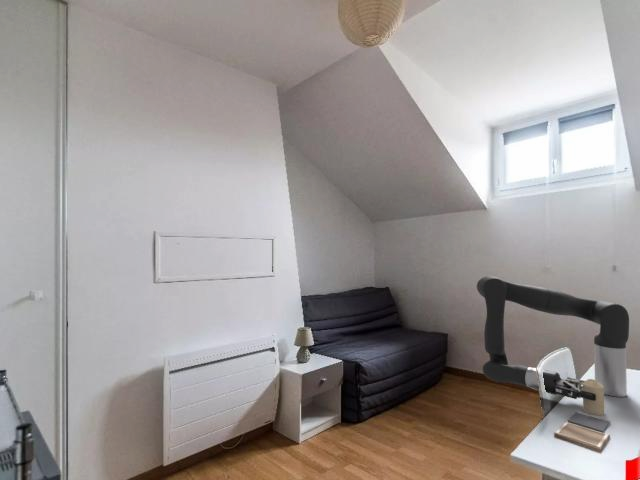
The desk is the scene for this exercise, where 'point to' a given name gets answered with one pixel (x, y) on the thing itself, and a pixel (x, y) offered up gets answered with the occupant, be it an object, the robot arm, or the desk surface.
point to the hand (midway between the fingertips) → (599, 394)
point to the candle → (598, 404)
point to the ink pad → (589, 422)
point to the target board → (582, 436)
